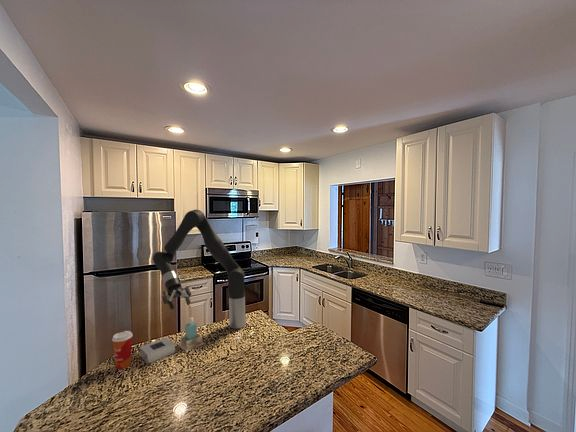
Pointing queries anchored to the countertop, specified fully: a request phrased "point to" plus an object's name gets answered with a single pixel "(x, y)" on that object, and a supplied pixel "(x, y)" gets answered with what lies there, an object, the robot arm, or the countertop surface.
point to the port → (156, 350)
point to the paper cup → (122, 349)
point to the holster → (190, 343)
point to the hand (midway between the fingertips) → (181, 306)
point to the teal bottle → (190, 329)
